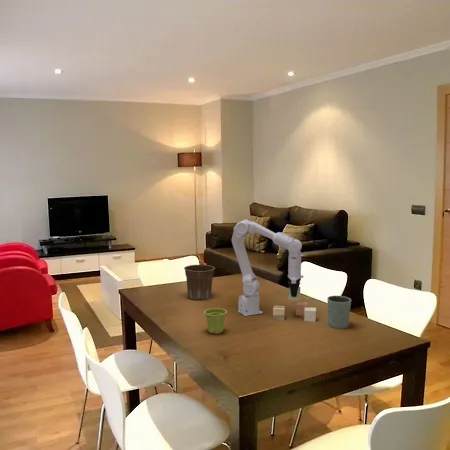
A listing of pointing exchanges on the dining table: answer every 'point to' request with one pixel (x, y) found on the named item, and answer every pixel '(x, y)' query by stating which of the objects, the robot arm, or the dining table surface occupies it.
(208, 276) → the plant pot
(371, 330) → the dining table surface
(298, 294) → the sage block
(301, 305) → the terracotta block
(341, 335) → the dining table surface
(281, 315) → the maple block
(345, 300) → the blue-grey tapered cup
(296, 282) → the robot arm
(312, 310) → the offwhite block
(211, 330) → the plant pot
